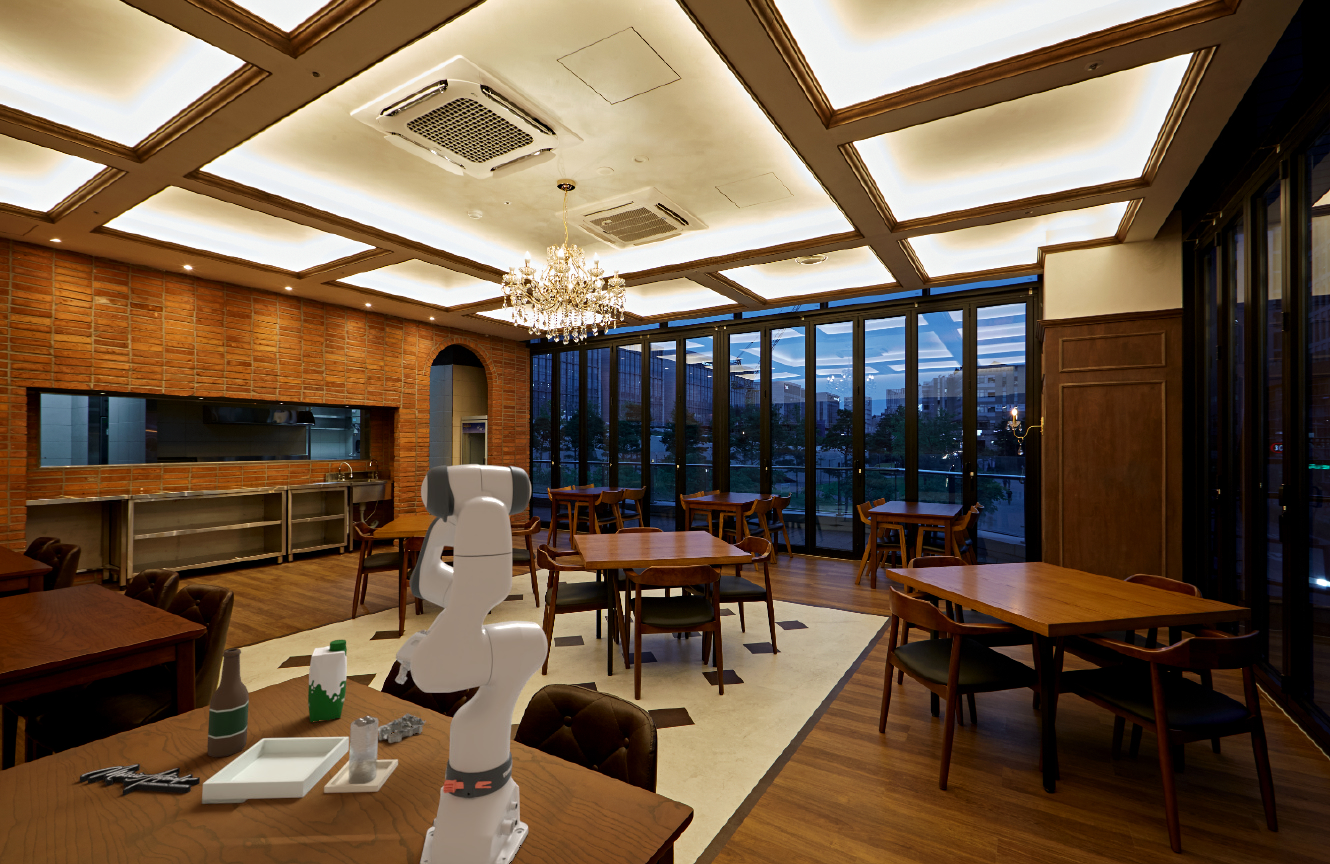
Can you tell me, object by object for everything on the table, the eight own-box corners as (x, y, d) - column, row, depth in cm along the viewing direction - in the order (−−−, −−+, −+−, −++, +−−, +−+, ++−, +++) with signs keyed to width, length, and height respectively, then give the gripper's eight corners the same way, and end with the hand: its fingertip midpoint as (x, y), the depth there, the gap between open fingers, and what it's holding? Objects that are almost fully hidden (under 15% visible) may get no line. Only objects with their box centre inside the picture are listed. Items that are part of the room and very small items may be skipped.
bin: (302, 800, 122) (303, 781, 122) (201, 803, 121) (202, 783, 121) (348, 753, 142) (348, 736, 142) (262, 755, 141) (263, 738, 141)
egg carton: (392, 749, 145) (393, 732, 145) (372, 742, 148) (373, 725, 149) (427, 731, 154) (428, 715, 155) (408, 725, 158) (408, 710, 158)
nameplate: (59, 785, 125) (108, 761, 135) (58, 793, 125) (107, 768, 135) (177, 793, 122) (218, 768, 132) (176, 801, 122) (217, 775, 132)
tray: (377, 794, 124) (377, 785, 125) (323, 796, 124) (324, 786, 124) (397, 768, 135) (398, 759, 135) (348, 769, 135) (348, 760, 135)
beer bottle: (230, 758, 139) (235, 655, 140) (198, 757, 139) (203, 654, 141) (254, 742, 147) (258, 645, 148) (223, 742, 147) (228, 644, 148)
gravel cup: (370, 784, 127) (372, 723, 128) (343, 785, 127) (346, 723, 127) (380, 771, 132) (382, 712, 133) (355, 771, 132) (357, 713, 133)
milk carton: (343, 719, 161) (346, 644, 162) (305, 725, 157) (308, 649, 158) (346, 707, 169) (348, 636, 170) (309, 712, 165) (312, 640, 166)
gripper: (411, 622, 153) (375, 671, 144) (467, 633, 143) (432, 687, 134) (425, 635, 157) (391, 684, 148) (480, 647, 147) (447, 701, 138)
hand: (411, 686), depth 141 cm, fingers open, 8 cm apart
